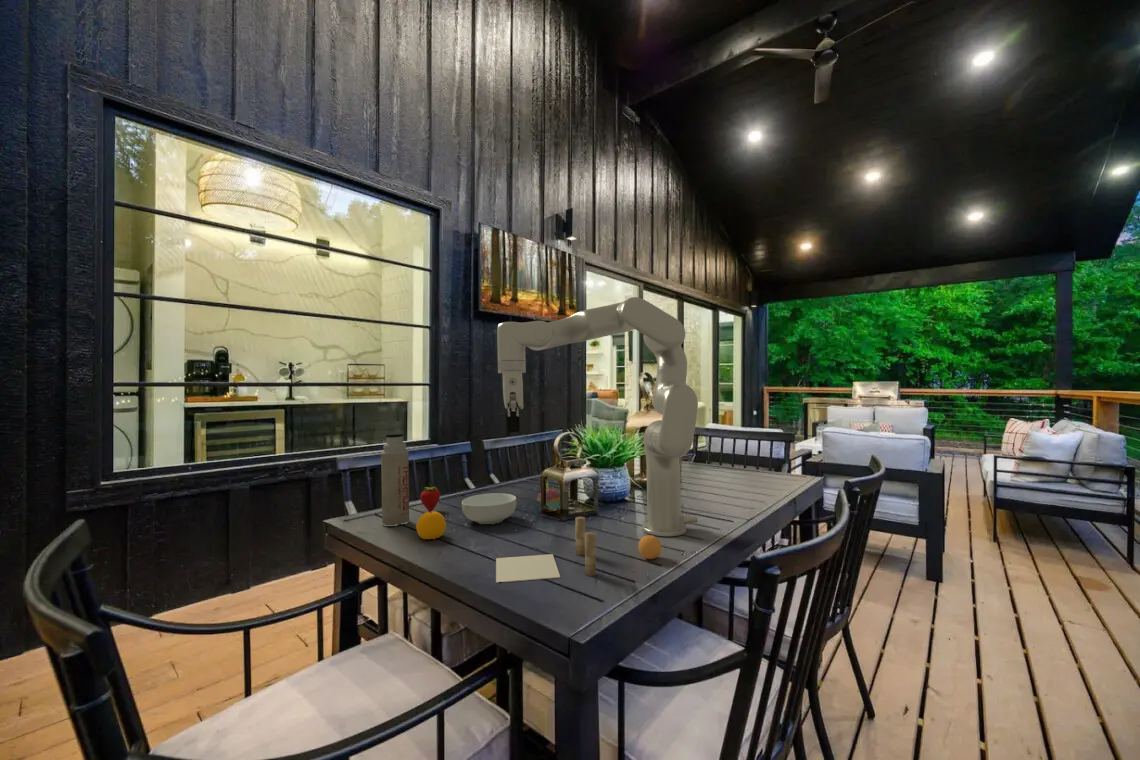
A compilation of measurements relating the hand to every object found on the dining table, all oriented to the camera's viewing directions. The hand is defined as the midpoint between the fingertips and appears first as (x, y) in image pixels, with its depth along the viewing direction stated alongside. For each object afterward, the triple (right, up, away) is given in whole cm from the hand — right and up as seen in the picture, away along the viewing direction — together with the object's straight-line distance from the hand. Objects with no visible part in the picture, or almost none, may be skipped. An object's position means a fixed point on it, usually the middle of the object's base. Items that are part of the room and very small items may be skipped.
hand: (513, 430), depth 128 cm
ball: (+35, -27, -14) cm, 46 cm away
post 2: (+20, -30, -23) cm, 43 cm away
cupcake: (+9, -31, +30) cm, 44 cm away
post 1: (+18, -30, -10) cm, 36 cm away
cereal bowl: (-10, -31, +19) cm, 38 cm away
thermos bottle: (-39, -31, +19) cm, 53 cm away
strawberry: (-32, -31, +31) cm, 54 cm away
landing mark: (+5, -30, -19) cm, 36 cm away
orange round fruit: (-23, -31, +4) cm, 39 cm away
